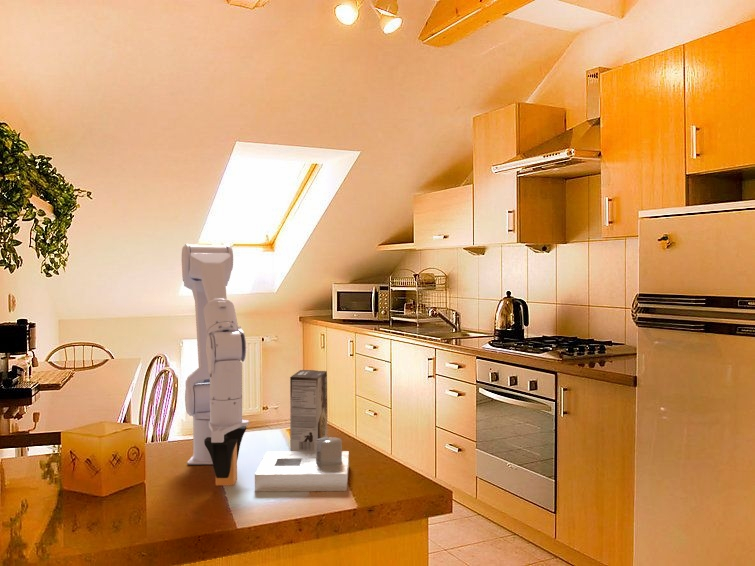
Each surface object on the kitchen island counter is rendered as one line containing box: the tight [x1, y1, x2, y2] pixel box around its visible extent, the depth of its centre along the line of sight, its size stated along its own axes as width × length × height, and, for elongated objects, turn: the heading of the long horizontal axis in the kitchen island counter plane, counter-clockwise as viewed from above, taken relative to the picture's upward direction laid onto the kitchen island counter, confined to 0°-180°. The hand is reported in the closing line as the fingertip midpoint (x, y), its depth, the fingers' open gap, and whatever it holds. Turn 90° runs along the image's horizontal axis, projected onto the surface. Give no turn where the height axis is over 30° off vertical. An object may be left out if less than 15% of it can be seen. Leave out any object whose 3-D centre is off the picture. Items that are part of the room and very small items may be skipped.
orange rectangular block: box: [215, 443, 238, 486], centre depth 117 cm, size 3×3×7 cm
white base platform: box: [254, 436, 350, 492], centre depth 120 cm, size 14×16×7 cm
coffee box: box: [289, 369, 328, 451], centre depth 140 cm, size 9×6×16 cm
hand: (226, 471), depth 117 cm, fingers open, 6 cm apart
